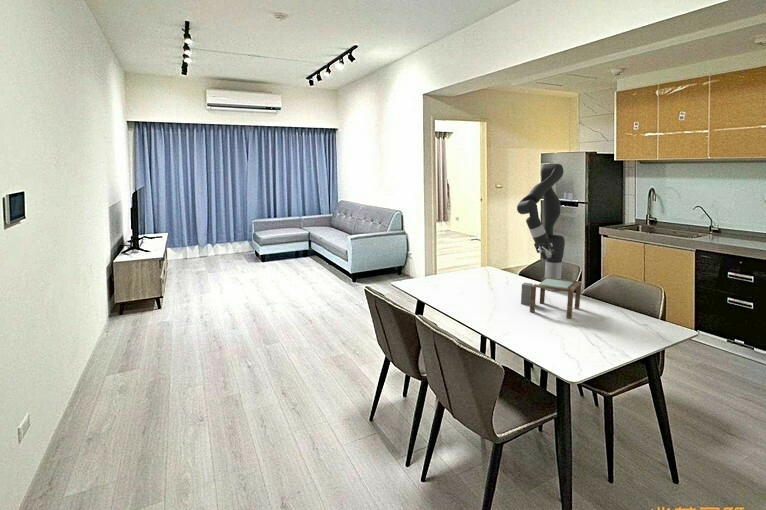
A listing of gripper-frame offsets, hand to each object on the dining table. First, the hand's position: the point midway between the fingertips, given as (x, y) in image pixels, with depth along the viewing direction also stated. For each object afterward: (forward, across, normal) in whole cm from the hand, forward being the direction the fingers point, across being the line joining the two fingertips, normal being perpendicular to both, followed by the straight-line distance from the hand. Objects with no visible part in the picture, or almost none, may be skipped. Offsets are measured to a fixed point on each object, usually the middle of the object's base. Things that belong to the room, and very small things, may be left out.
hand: (550, 259), depth 256 cm
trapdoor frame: (+18, -15, +20) cm, 31 cm away
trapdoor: (+6, -17, +14) cm, 23 cm away
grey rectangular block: (+14, 0, +25) cm, 28 cm away
